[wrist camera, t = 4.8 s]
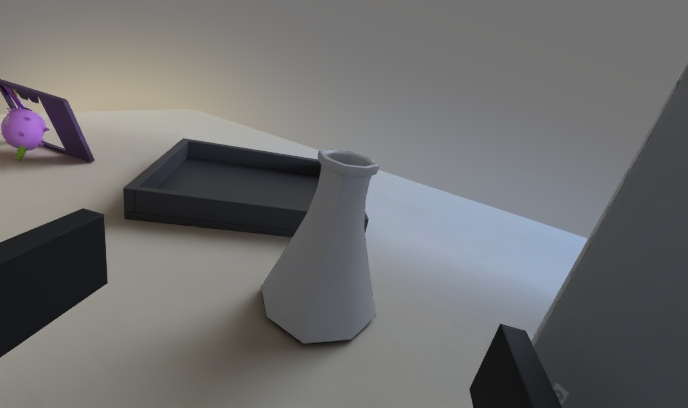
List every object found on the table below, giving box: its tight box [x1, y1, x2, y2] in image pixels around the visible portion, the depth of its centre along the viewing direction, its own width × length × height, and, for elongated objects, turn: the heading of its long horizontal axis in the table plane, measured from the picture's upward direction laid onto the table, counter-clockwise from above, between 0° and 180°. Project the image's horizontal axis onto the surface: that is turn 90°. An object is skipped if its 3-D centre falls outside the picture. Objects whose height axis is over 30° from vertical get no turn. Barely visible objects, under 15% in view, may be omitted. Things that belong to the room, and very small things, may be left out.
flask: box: [261, 149, 379, 344], centre depth 21 cm, size 7×7×10 cm
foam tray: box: [123, 138, 369, 237], centre depth 37 cm, size 20×17×3 cm
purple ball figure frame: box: [0, 79, 94, 163], centre depth 34 cm, size 7×5×9 cm
